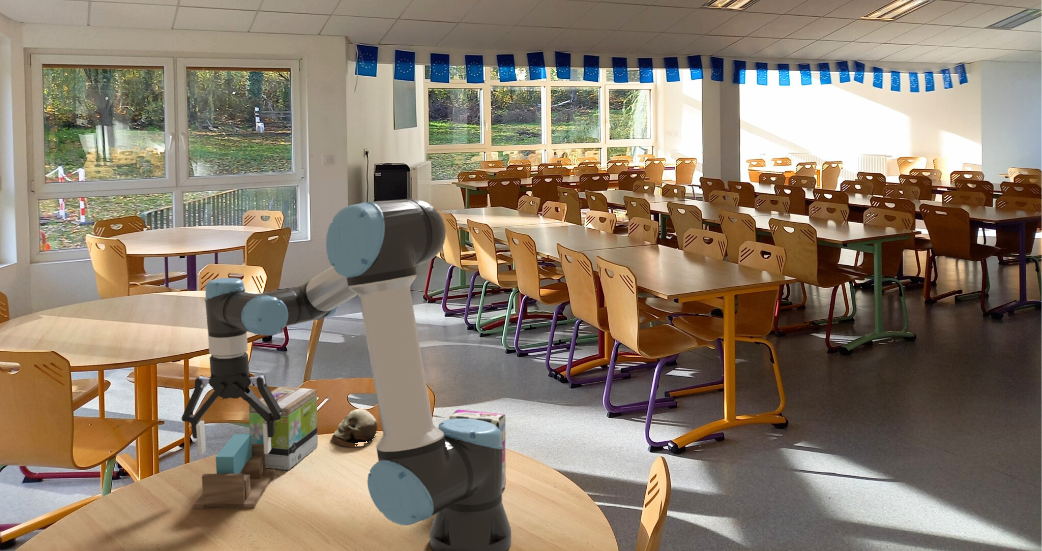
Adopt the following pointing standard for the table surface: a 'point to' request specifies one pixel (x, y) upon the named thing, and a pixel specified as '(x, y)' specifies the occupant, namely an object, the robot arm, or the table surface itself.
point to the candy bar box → (491, 418)
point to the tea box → (288, 427)
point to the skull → (356, 428)
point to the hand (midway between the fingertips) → (235, 452)
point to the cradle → (237, 485)
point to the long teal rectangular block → (234, 454)
